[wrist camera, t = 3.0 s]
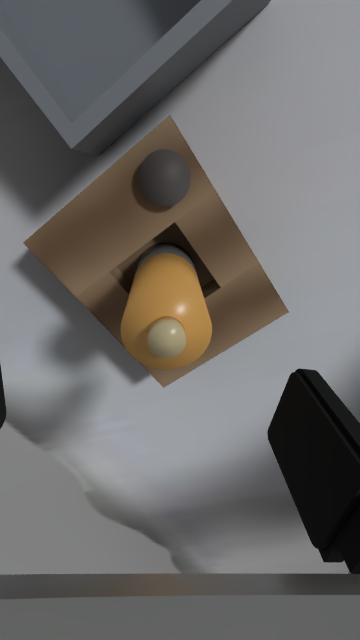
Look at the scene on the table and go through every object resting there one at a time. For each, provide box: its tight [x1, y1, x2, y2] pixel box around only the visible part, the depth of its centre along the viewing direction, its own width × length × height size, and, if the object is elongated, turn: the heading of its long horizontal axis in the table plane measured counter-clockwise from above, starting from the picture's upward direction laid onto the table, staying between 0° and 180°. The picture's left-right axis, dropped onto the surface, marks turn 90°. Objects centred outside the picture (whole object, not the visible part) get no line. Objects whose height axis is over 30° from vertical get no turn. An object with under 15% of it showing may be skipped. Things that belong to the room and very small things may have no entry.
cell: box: [121, 242, 212, 370], centre depth 16 cm, size 4×4×10 cm
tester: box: [23, 116, 289, 387], centre depth 20 cm, size 14×11×4 cm
